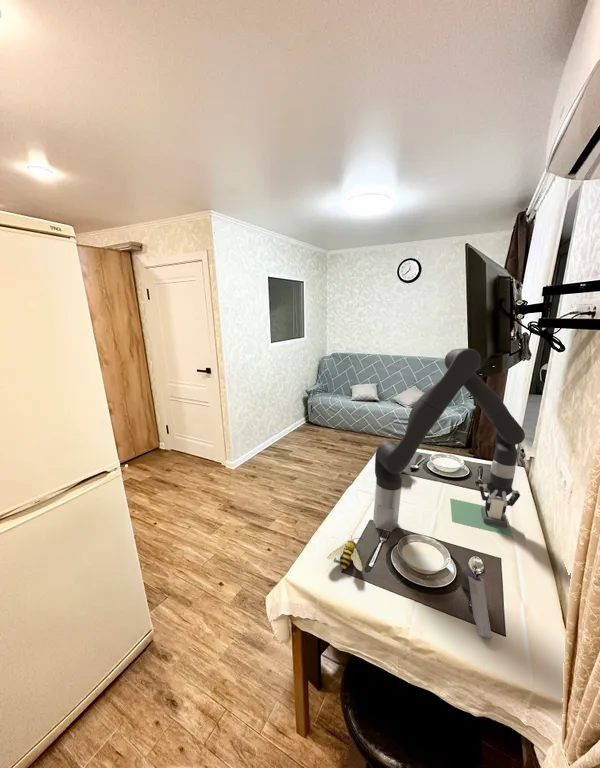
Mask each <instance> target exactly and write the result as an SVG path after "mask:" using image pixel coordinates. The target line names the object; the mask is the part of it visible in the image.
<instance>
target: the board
mask: <svg viewBox="0 0 600 768" xmlns="http://www.w3.org/2000/svg"><path fill="white" fill-rule="evenodd" d="M449 499H450V513H451V523H455V524H460V525H463V526H467V527H471V528H476V529H480V530H483V531H488V532H493V533H496V534H501V535H505V536H509V537H513V533H512V530H511V527H510V525H509V521H508V518H507V515H506V512H505V513H503V514H502V516H501V520H500V519H496V518H491V517H489V516H488V512H487V509H486V507H485V505H483V504H478V503H473V502H469V501H465V500H460V499H459V500H458V499H455V498H449Z"/></svg>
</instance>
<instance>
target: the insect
mask: <svg viewBox="0 0 600 768" xmlns="http://www.w3.org/2000/svg"><path fill="white" fill-rule="evenodd" d="M350 537H351V539H350V540H347V542H346V543H344V544H343V545H341V546H340V547H338V548H336V549H335V550H333V551H332V552H331V553H329V555H327V557H326V559H327V560H329V561H331V560H334V561H333V562H335V561H336V560H337V558H338V557H339V563H340V568H341V570H342V571H344V570H346V569H348V567H349V566H350V565H351V563H352V562H353V565H354V568H355V569H354V570H355V571H356V570H358V571H360V572H362V571H363V569H364V568H363V564H362V558H361V557H360V554H359V552H360V550H359V549H357V548H356V545H357V543H356V542H355V541H354V540H357V539H361V540H363V538H361V537H356V538H353V536H350Z"/></svg>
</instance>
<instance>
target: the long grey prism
mask: <svg viewBox="0 0 600 768" xmlns="http://www.w3.org/2000/svg"><path fill="white" fill-rule="evenodd" d="M460 585H461V589H462V590H467V591H468V596H469V602H470V603H469V604H470V605H471V607H472V614H473V615H472V616H473V620H474V621H475V625H476V631H477V636H482V637H483V638H487V639H490V638H492V637H493V636H492V631H491V625H490V619H489V617H490V616H489V611H488V603H487V598H486V591H485V583H484V579H483V578H481V577H477V576H476V575H475V574H474V573H473V572H472V571H471V570H466V569H465V570H464V569H460Z"/></svg>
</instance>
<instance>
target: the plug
mask: <svg viewBox="0 0 600 768" xmlns="http://www.w3.org/2000/svg"><path fill="white" fill-rule="evenodd" d="M503 506H504V501H503V499H502V498H501V497H496V496H495V497H494V499H492V500H491V505H490V510H489V511H487V512H488V516H489V517H491V518H496V519H500V520H501V516H502V511H503Z"/></svg>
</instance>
